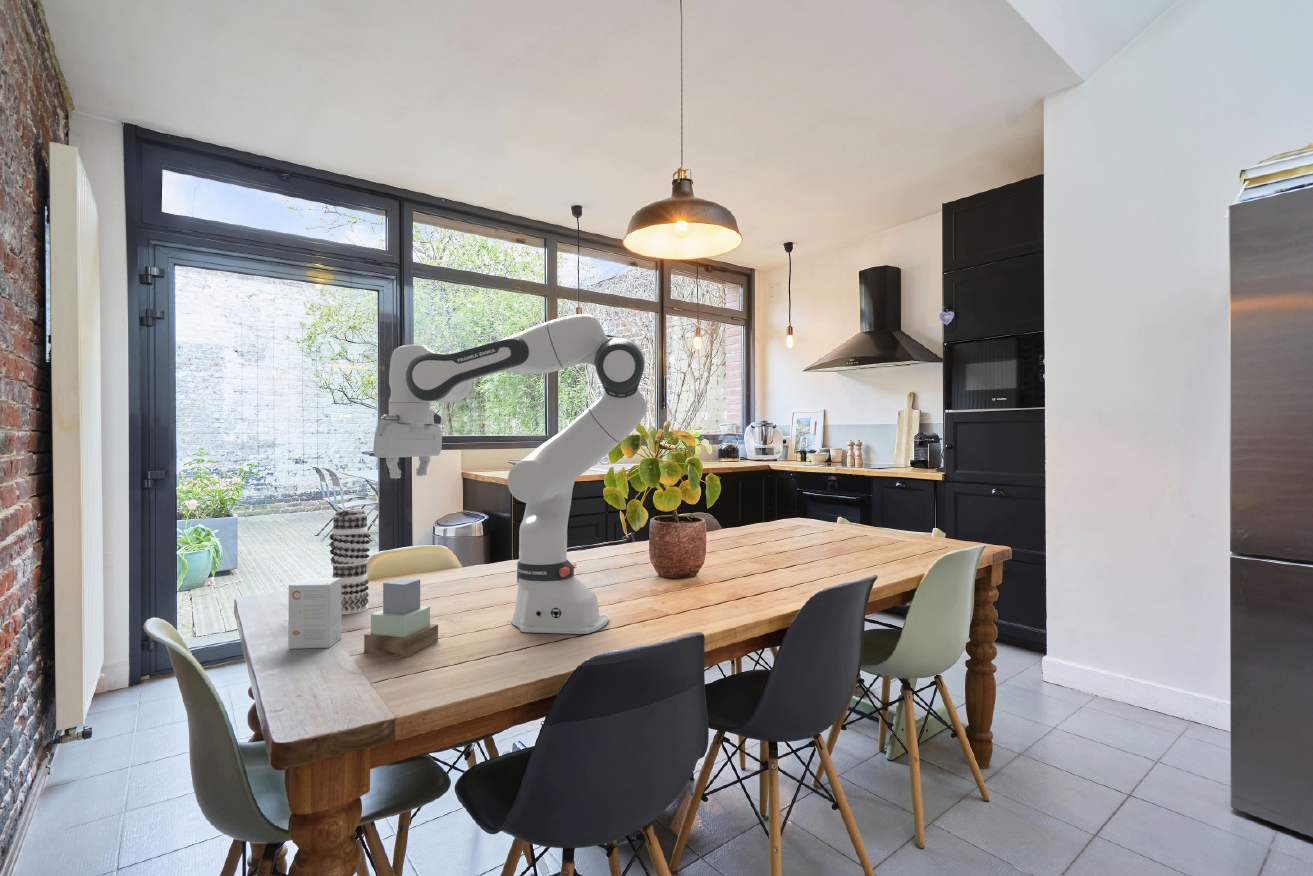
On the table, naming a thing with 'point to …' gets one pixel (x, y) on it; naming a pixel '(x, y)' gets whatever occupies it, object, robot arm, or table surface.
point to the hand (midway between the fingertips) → (408, 477)
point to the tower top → (400, 622)
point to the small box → (314, 613)
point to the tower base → (401, 642)
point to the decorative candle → (350, 558)
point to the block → (401, 596)
